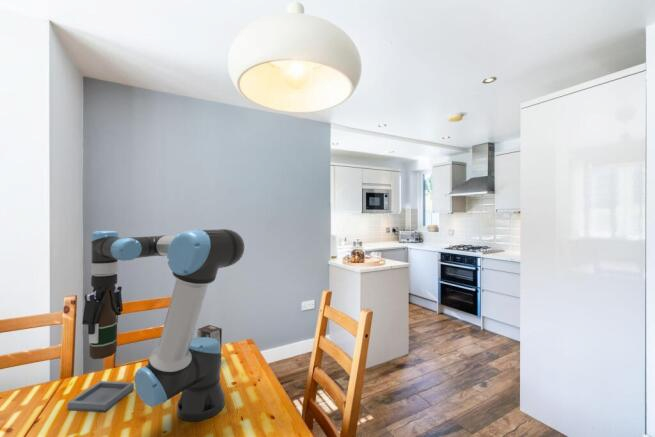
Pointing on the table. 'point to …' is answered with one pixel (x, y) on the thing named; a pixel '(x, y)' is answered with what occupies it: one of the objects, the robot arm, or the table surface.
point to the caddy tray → (100, 396)
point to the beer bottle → (105, 331)
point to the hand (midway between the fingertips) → (103, 337)
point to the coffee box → (211, 334)
